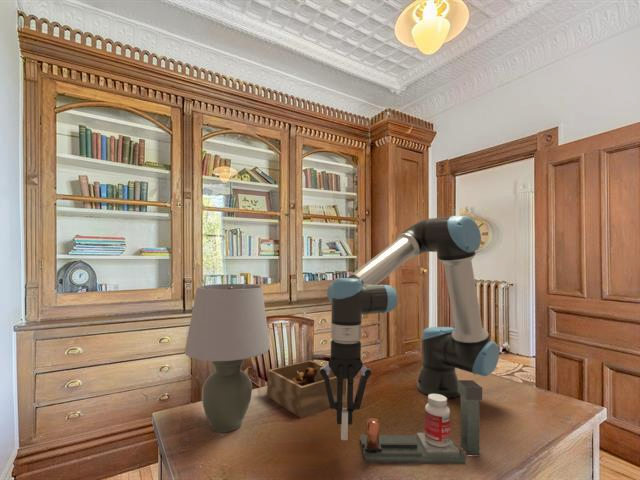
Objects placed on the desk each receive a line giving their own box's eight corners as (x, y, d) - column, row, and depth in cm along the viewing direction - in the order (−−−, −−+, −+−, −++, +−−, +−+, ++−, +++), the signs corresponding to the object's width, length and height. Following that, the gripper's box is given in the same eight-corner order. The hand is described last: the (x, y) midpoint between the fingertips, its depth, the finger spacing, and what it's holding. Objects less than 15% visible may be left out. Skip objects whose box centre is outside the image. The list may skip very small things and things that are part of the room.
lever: (365, 453, 81) (365, 423, 81) (363, 446, 84) (364, 417, 84) (382, 453, 81) (382, 424, 81) (379, 446, 84) (379, 418, 84)
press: (363, 463, 80) (364, 390, 81) (358, 440, 90) (359, 376, 90) (488, 464, 80) (487, 392, 81) (469, 441, 90) (469, 377, 91)
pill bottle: (444, 451, 81) (445, 404, 82) (420, 441, 85) (421, 397, 85) (453, 440, 86) (453, 396, 86) (430, 432, 90) (430, 390, 90)
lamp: (282, 431, 94) (285, 288, 96) (194, 459, 80) (199, 292, 82) (248, 400, 113) (252, 282, 115) (173, 418, 100) (178, 284, 102)
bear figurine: (315, 389, 124) (316, 356, 124) (327, 407, 109) (328, 369, 110) (279, 393, 120) (280, 358, 121) (286, 412, 106) (287, 373, 106)
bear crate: (267, 396, 117) (267, 370, 117) (309, 383, 129) (310, 360, 129) (300, 418, 101) (301, 388, 102) (345, 401, 113) (346, 374, 114)
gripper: (320, 343, 80) (317, 445, 78) (374, 344, 80) (372, 446, 79) (319, 336, 87) (317, 428, 86) (369, 337, 87) (368, 429, 86)
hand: (344, 437), depth 82 cm, fingers closed
